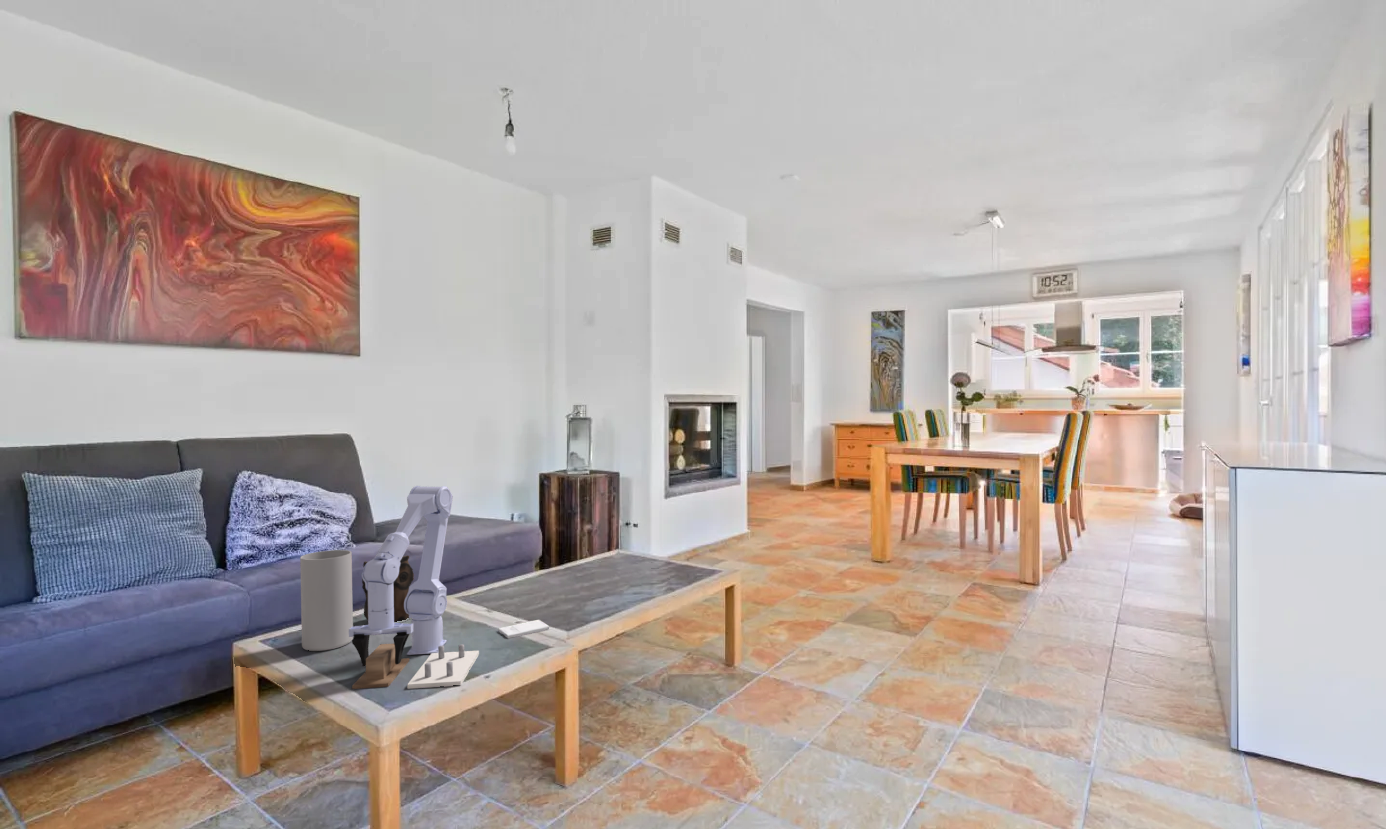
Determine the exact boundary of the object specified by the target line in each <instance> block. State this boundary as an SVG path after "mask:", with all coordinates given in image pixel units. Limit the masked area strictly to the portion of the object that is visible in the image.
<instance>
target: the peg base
mask: <svg viewBox="0 0 1386 829" xmlns="http://www.w3.org/2000/svg"><path fill="white" fill-rule="evenodd" d="M479 655H480V650H465V644H462V643H461V644H458V651H447V652H445V645H441V646H439V647H438V653H431V654H430V655H429V656H428V657H427V659H426V660H425V661H424V663H423V664H422V665H421V666H420V668H418V670H417V671H416V673H415V674H414V676H412V678H411V679H410V680H409V682H408V683H407V690H410V689H422V688H423V689H424V688H425V689H426V688H441V687H440V686H444V687H454V686H453V685H460V686H462V685H463V683H464V681H465V680H466V677H467V676H468V674H469V672H470V671H469V670H471V668H472V667H473V665H474V664H475V662H476V660H477V658H478V657H479ZM461 684H462V685H461Z"/></svg>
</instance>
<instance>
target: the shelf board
mask: <svg viewBox="0 0 1386 829" xmlns="http://www.w3.org/2000/svg"><path fill="white" fill-rule="evenodd" d="M409 662H410V657H407V658H406V657H405V658H401V662H400V663H399V664H395V645H394V643H381V644H379V645H378V646H377V647H375V649H374V650H373V651H372V652H371V653H370V654H369V656H368V657H367V658H366V666H365V671H364V673H363V674H362V675H361V676H360V677H358V679H357V680H356V681H355V682H354V683H353V684H352V685H351V686H352V687H351V688H352V690H358V689H359V690H360V689H375V688H389V687H390V686H391V684H392V683H393V682H394V681H395V679H396V678H397V677H398V676H399V674H400V673H402V671H403V670H404V668H406V666H407V665H408V664H409Z"/></svg>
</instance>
